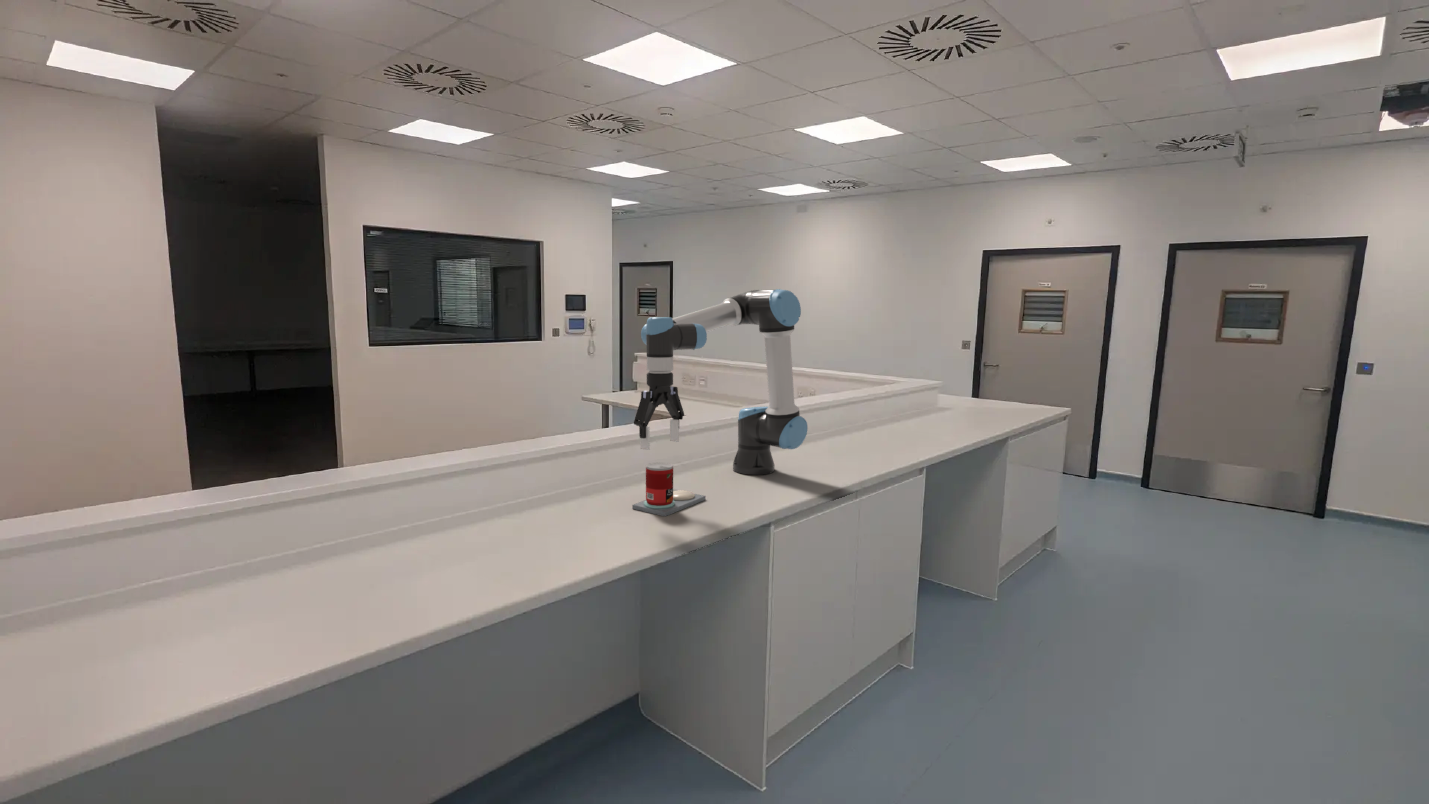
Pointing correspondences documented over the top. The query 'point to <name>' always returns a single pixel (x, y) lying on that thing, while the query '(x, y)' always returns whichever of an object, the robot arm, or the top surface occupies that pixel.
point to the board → (681, 502)
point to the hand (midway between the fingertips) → (660, 445)
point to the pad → (659, 506)
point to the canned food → (659, 484)
